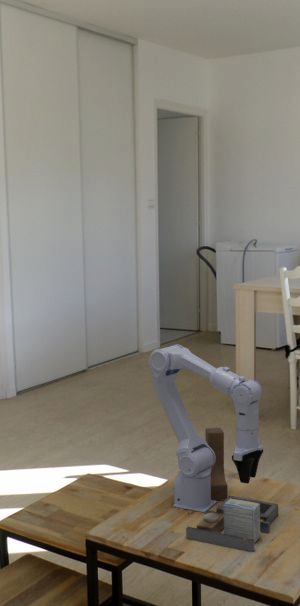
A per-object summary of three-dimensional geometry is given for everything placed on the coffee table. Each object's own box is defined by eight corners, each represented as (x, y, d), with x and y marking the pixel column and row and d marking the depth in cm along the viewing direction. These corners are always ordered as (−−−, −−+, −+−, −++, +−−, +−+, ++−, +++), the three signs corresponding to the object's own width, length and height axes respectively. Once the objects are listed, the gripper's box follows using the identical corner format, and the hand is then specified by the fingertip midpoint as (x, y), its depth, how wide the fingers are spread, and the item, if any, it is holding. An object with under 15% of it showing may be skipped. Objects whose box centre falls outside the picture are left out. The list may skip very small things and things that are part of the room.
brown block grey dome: (196, 536, 183) (196, 521, 182) (210, 522, 190) (210, 508, 190) (211, 539, 181) (211, 524, 180) (225, 525, 189) (225, 511, 188)
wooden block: (227, 500, 205) (227, 436, 203) (211, 501, 205) (211, 437, 203) (221, 488, 214) (220, 427, 212) (205, 489, 214) (205, 428, 212)
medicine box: (260, 537, 182) (260, 503, 181) (254, 544, 178) (254, 509, 177) (230, 531, 186) (230, 497, 185) (223, 538, 182) (223, 504, 181)
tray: (216, 519, 193) (216, 508, 192) (229, 506, 201) (229, 495, 201) (266, 528, 187) (266, 517, 186) (278, 515, 195) (278, 504, 194)
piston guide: (186, 538, 182) (185, 527, 182) (206, 519, 193) (206, 509, 193) (252, 552, 174) (252, 541, 174) (269, 531, 185) (269, 520, 185)
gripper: (252, 437, 182) (252, 491, 184) (271, 422, 195) (272, 472, 196) (225, 434, 185) (226, 487, 187) (246, 419, 198) (246, 469, 200)
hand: (248, 479), depth 192 cm, fingers open, 4 cm apart
